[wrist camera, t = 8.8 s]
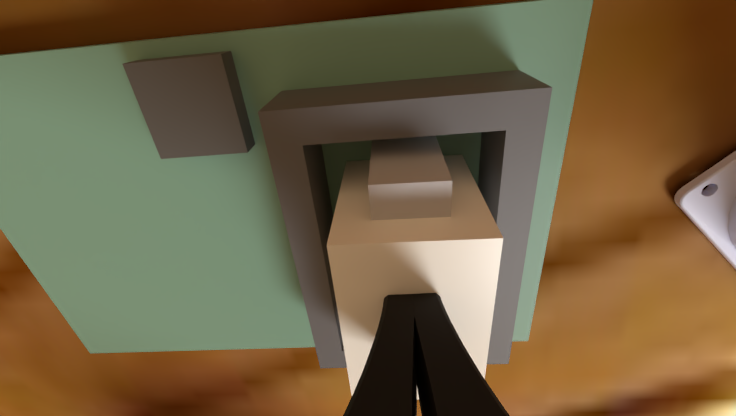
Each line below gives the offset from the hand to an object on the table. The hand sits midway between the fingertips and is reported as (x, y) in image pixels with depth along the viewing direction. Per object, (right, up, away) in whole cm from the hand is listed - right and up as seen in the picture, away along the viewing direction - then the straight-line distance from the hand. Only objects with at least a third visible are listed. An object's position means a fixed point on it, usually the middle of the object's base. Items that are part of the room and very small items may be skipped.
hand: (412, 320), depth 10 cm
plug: (0, +3, +4) cm, 5 cm away
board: (-5, +3, +6) cm, 8 cm away
